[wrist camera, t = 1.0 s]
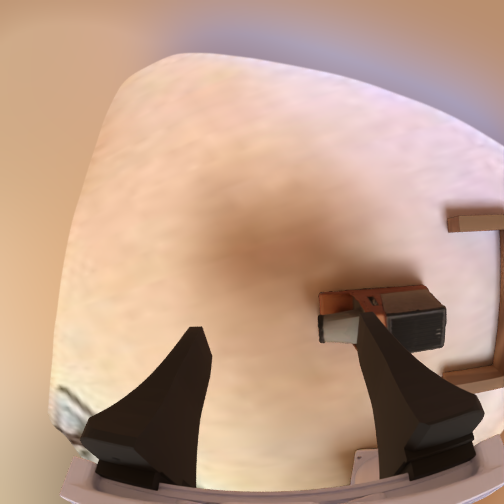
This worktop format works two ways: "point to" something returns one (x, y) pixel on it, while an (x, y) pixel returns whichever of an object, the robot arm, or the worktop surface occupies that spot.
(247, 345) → the worktop surface
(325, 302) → the electronic device
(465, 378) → the cradle
